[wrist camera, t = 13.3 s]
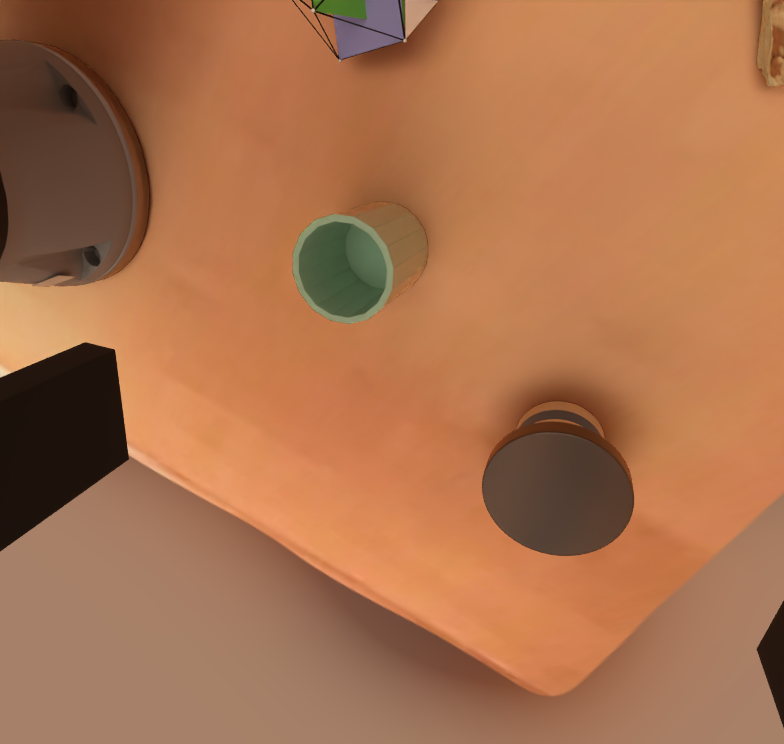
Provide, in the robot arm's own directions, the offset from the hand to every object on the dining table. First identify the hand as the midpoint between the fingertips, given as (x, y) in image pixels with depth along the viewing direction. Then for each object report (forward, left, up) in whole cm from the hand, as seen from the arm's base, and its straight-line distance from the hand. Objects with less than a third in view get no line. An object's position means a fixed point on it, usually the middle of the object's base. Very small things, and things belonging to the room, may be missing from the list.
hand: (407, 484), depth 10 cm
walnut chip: (+4, -11, -18) cm, 21 cm away
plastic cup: (-8, -1, -22) cm, 24 cm away
